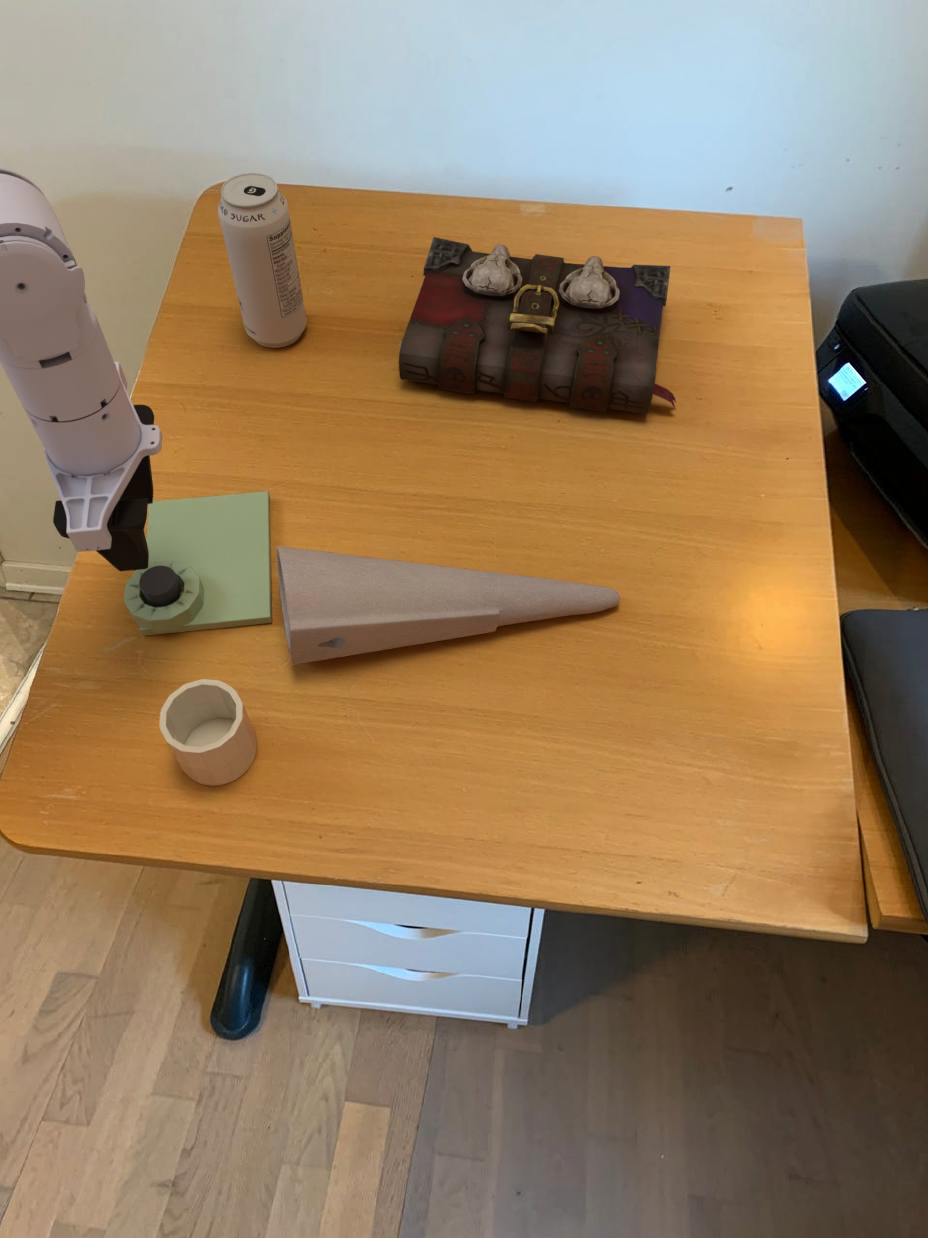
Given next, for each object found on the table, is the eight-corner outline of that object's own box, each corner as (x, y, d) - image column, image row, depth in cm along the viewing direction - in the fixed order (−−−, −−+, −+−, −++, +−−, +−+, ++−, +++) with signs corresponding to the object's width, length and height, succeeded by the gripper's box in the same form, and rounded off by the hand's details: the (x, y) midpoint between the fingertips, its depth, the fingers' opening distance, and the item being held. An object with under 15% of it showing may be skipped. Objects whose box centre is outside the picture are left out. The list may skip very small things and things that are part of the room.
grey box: (600, 493, 75) (274, 523, 69) (636, 577, 70) (289, 617, 64) (579, 555, 81) (278, 588, 75) (611, 636, 76) (292, 678, 70)
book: (390, 389, 88) (385, 326, 82) (433, 272, 97) (431, 208, 91) (672, 434, 85) (689, 372, 79) (688, 309, 94) (704, 245, 88)
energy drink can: (261, 305, 94) (231, 163, 82) (317, 317, 93) (295, 175, 81) (236, 344, 91) (201, 202, 78) (293, 357, 90) (267, 215, 77)
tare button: (143, 608, 71) (137, 596, 70) (145, 578, 73) (140, 567, 72) (180, 604, 72) (175, 593, 70) (182, 575, 73) (177, 563, 72)
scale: (130, 641, 72) (121, 623, 70) (141, 509, 79) (133, 489, 77) (272, 626, 73) (267, 609, 71) (270, 497, 80) (265, 477, 78)
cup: (178, 791, 65) (157, 757, 61) (181, 719, 69) (161, 682, 64) (257, 782, 66) (242, 748, 61) (256, 711, 69) (242, 674, 64)
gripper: (131, 473, 51) (190, 611, 62) (146, 302, 59) (196, 452, 70) (-2, 485, 51) (82, 622, 62) (32, 311, 58) (100, 460, 70)
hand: (136, 532), depth 66 cm, fingers open, 5 cm apart
